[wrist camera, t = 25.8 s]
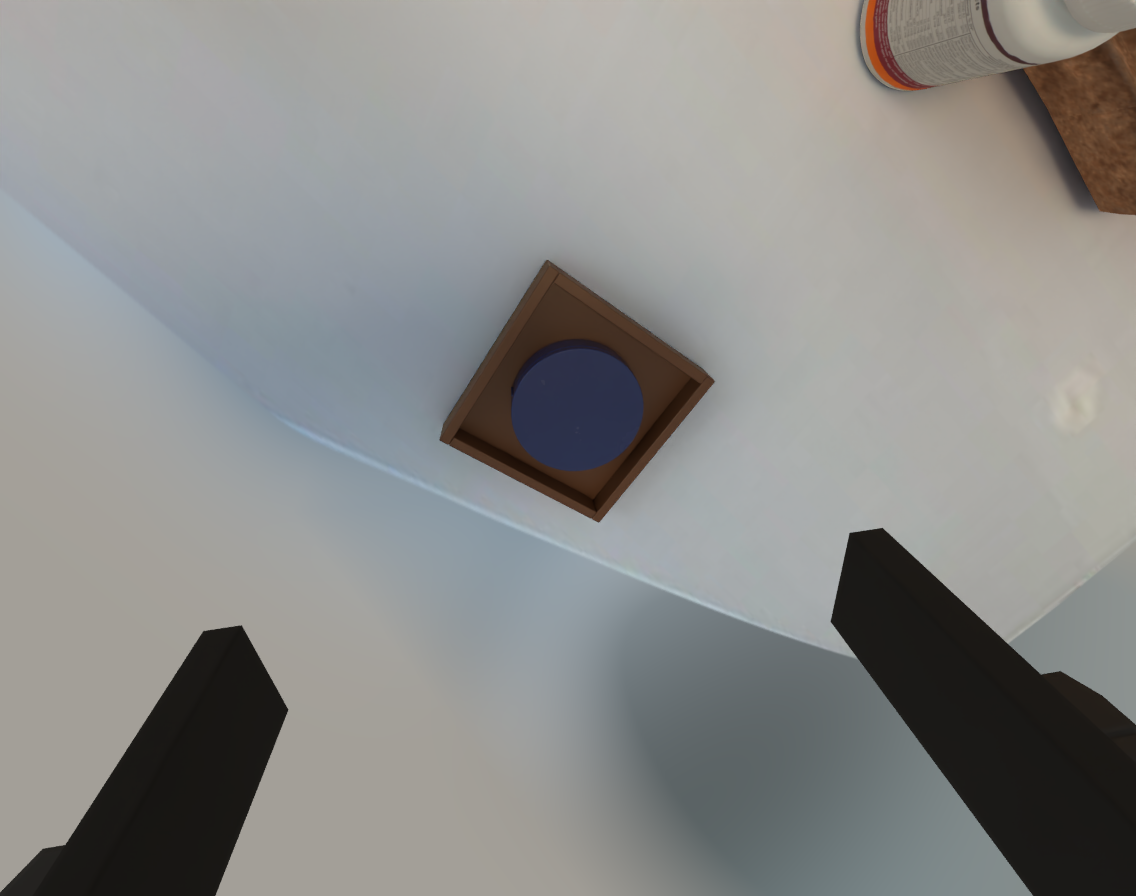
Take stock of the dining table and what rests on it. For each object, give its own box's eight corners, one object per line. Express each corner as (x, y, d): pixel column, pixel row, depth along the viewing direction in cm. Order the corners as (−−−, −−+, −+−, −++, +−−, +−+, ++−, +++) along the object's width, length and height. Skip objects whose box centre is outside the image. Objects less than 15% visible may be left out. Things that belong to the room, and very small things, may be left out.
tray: (442, 424, 31) (438, 440, 29) (546, 259, 27) (549, 265, 25) (594, 504, 34) (599, 523, 33) (702, 369, 31) (715, 381, 29)
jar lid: (497, 443, 31) (496, 458, 29) (526, 324, 28) (527, 333, 26) (614, 465, 33) (620, 481, 31) (653, 355, 29) (662, 366, 28)
